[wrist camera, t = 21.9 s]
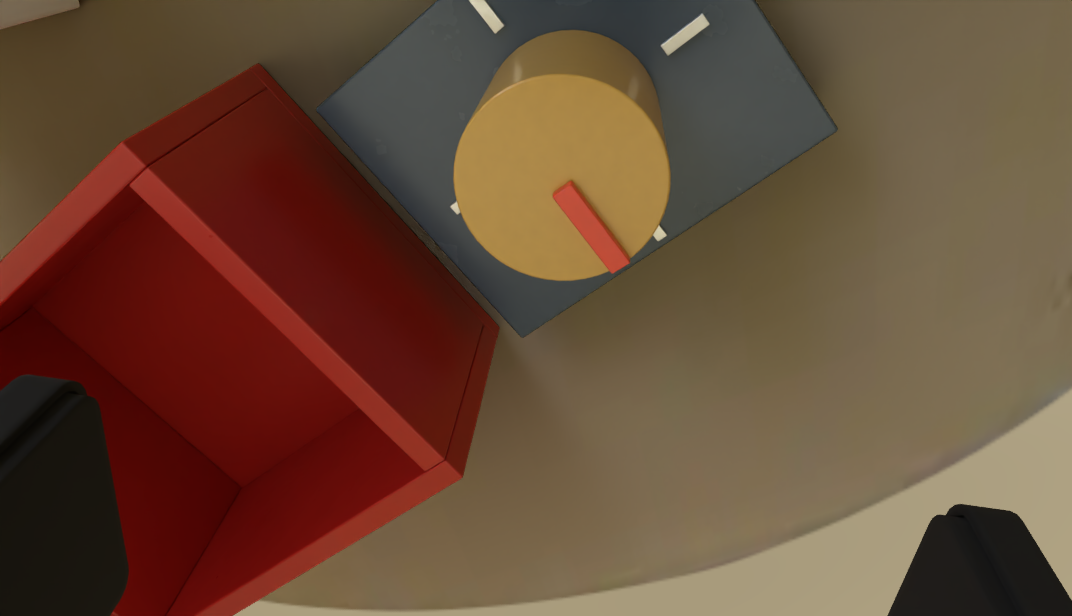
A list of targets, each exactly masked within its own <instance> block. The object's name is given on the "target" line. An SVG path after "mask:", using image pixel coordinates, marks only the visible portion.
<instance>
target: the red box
mask: <svg viewBox="0 0 1072 616" xmlns="http://www.w3.org/2000/svg"><path fill="white" fill-rule="evenodd" d="M499 329H500V328H499V326H498V325H497V324H496V323H495V322H494V321H493V320H492V319H491V318H490V316H489V315H488V314H487V313H486V312H485V311H484V310H483V309H482V308H481V307H480V305H479V304H478V303H477V302H476V301H475V300H474V299H473V298H472V297H471V296H470V294H469V293H468V292H467V291H466V290H465V289H464V288H463V287H462V286H461V285H460V283H459V282H458V281H457V280H456V279H455V278H454V277H453V276H452V275H451V274H450V273H449V271H448V270H447V269H446V268H445V267H444V266H443V265H442V264H441V263H440V262H439V260H438V259H437V258H436V257H435V256H434V255H433V254H432V253H431V252H430V251H429V249H428V248H427V247H426V246H425V245H424V244H423V243H422V242H421V241H420V240H419V238H418V237H417V236H416V235H415V234H414V233H413V232H412V231H411V230H410V229H409V227H408V226H407V225H406V224H405V223H404V222H403V221H402V220H401V219H400V218H399V216H398V215H397V214H396V213H395V212H394V211H393V210H392V209H391V208H390V207H389V206H388V204H387V203H386V202H385V201H384V200H383V199H382V198H381V197H380V196H379V195H378V193H377V192H376V191H375V190H374V189H373V188H372V187H371V186H370V185H369V184H368V182H367V181H366V180H365V179H364V178H363V177H362V176H361V175H360V174H359V173H358V171H357V170H356V169H355V168H354V167H353V166H352V165H351V164H350V163H349V162H348V160H347V159H346V158H345V157H344V156H343V155H342V154H341V153H340V152H339V151H338V149H337V148H336V147H335V146H334V145H333V144H332V143H331V142H330V141H329V140H328V139H327V137H326V136H325V135H324V134H323V133H322V132H321V131H320V130H319V129H318V128H317V126H316V125H315V124H314V123H313V122H312V121H311V120H310V119H309V118H308V117H307V115H306V114H305V113H304V112H303V111H302V110H301V109H300V108H299V107H298V106H297V104H296V103H295V102H294V101H293V100H292V99H291V98H290V97H289V96H288V95H287V93H286V92H285V91H284V90H283V89H282V88H281V87H280V86H279V85H278V84H277V82H276V81H275V80H274V79H273V78H272V77H271V76H270V75H269V74H268V73H267V72H266V70H265V69H264V68H263V67H262V66H261V65H260V64H259V63H258V64H256V65H254V66H252V67H250V68H249V69H247V70H245V71H244V72H242V73H240V74H239V75H237V76H235V77H233V78H232V79H230V80H228V81H226V82H225V83H223V84H221V85H219V86H218V87H216V88H214V89H212V90H211V91H209V92H207V93H205V94H204V95H202V96H200V97H198V98H197V99H195V100H193V101H191V102H190V103H188V104H186V105H185V106H183V107H181V108H179V109H178V110H176V111H174V112H172V113H171V114H169V115H167V116H165V117H164V118H162V119H160V120H158V121H157V122H155V123H153V124H151V125H150V126H148V127H146V128H144V129H143V130H141V131H139V132H138V133H136V134H134V135H132V136H131V137H129V138H127V139H125V140H124V141H122V142H120V143H119V144H118V145H117V146H116V147H115V148H114V149H113V150H112V151H111V152H110V153H109V154H108V155H107V156H106V157H105V158H104V159H103V160H102V161H101V162H100V163H99V164H98V165H97V166H96V167H95V168H94V169H93V170H92V171H91V172H90V173H89V174H88V175H87V176H86V177H85V178H84V179H83V180H82V181H81V182H80V183H79V184H78V185H77V186H76V187H75V188H74V189H73V190H72V191H71V192H70V193H69V194H68V195H67V196H66V197H65V198H64V199H63V200H62V201H61V202H60V203H59V204H58V205H57V206H56V207H55V208H54V209H53V210H52V211H51V212H50V213H49V214H48V215H47V216H46V217H45V218H44V219H43V220H42V221H41V222H40V223H38V224H37V225H36V226H35V227H34V228H33V229H32V230H31V231H30V232H29V233H28V234H27V235H26V236H25V237H24V238H23V239H22V240H21V241H20V242H19V243H18V244H17V245H16V246H15V247H14V248H13V249H12V250H11V251H10V252H9V253H8V254H7V255H6V256H5V257H4V258H3V259H2V260H1V261H0V391H1V390H2V389H3V388H4V387H5V386H7V385H8V384H9V383H10V382H11V381H12V380H14V379H16V378H17V377H19V376H21V375H27V374H29V375H36V376H44V377H51V378H58V379H65V380H72V381H76V382H79V383H81V384H82V385H83V387H84V388H85V390H86V393H87V396H91V397H94V398H95V399H96V400H97V401H98V403H99V407H100V411H101V416H102V422H103V427H104V433H105V438H106V444H107V449H108V455H109V460H110V466H111V472H112V477H113V483H114V488H115V494H116V499H117V505H118V510H119V516H120V521H121V527H122V532H123V538H124V543H125V549H126V554H127V560H128V565H129V575H128V581H127V585H126V589H125V591H124V594H123V596H122V598H121V599H120V601H119V603H118V604H117V606H116V607H115V609H114V610H113V612H112V613H111V615H110V616H233V615H235V614H236V613H238V612H240V611H241V610H243V609H245V608H246V607H248V606H250V605H251V604H253V603H255V602H256V601H258V600H260V599H261V598H263V597H265V596H266V595H268V594H270V593H271V592H273V591H275V590H276V589H278V588H280V587H281V586H283V585H285V584H286V583H288V582H290V581H291V580H293V579H295V578H296V577H298V576H300V575H301V574H303V573H305V572H306V571H308V570H310V569H311V568H313V567H315V566H316V565H318V564H320V563H321V562H323V561H325V560H326V559H328V558H330V557H331V556H333V555H335V554H336V553H338V552H340V551H341V550H343V549H345V548H346V547H348V546H350V545H351V544H353V543H355V542H356V541H358V540H360V539H361V538H363V537H365V536H366V535H368V534H370V533H371V532H373V531H375V530H376V529H378V528H380V527H381V526H383V525H385V524H386V523H388V522H390V521H391V520H393V519H395V518H396V517H398V516H400V515H401V514H403V513H405V512H406V511H408V510H410V509H411V508H413V507H415V506H416V505H418V504H420V503H421V502H423V501H425V500H426V499H428V498H430V497H431V496H433V495H435V494H436V493H438V492H440V491H441V490H443V489H445V488H446V487H448V486H450V485H451V484H453V483H455V482H456V481H458V480H460V479H461V478H462V477H463V475H464V471H465V466H466V462H467V458H468V454H469V450H470V446H471V442H472V438H473V434H474V430H475V426H476V422H477V418H478V414H479V410H480V405H481V401H482V397H483V393H484V389H485V385H486V381H487V377H488V373H489V369H490V365H491V361H492V357H493V353H494V349H495V344H496V340H497V337H498V333H499Z"/></svg>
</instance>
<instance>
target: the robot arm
mask: <svg viewBox="0 0 1072 616" xmlns="http://www.w3.org/2000/svg"><path fill="white" fill-rule="evenodd" d="M128 575H129V565H128V560H127V554H126V549H125V543H124V538H123V532H122V527H121V521H120V516H119V510H118V505H117V499H116V494H115V488H114V483H113V477H112V472H111V466H110V460H109V455H108V449H107V444H106V438H105V433H104V427H103V422H102V416H101V411H100V407H99V403H98V401H97V400H96V399H95V398H94V397H91V396H87V393H86V390H85V388H84V387H83V385H82V384H81V383H79V382H76V381H72V380H65V379H58V378H51V377H44V376H36V375H29V374H27V375H21V376H19V377H17V378H16V379H14V380H12V381H11V382H10V383H9V384H8V385H7V386H5V387H4V388H3V389H2V390H1V391H0V616H110V615H111V613H112V612H113V610H114V609H115V607H116V606H117V604H118V603H119V601H120V599H121V598H122V596H123V594H124V591H125V589H126V585H127V581H128ZM888 616H1072V600H1071V599H1070V598H1069V595H1068V594H1067V592H1066V591H1065V589H1064V587H1063V586H1062V584H1061V582H1060V581H1059V579H1058V578H1057V576H1056V574H1055V573H1054V571H1053V569H1052V568H1051V566H1050V565H1049V563H1048V561H1047V560H1046V558H1045V557H1044V555H1043V553H1042V552H1041V550H1040V548H1039V547H1038V545H1037V543H1036V542H1035V540H1034V539H1033V537H1032V536H1031V534H1030V532H1029V530H1028V529H1027V527H1026V526H1025V524H1024V522H1023V521H1022V520H1021V519H1020V517H1019V516H1018V515H1017V514H1015V513H1013V512H1011V511H1006V510H1000V509H992V508H985V507H978V506H971V505H964V504H958V505H954V506H953V507H952V508H950V509H949V511H948V512H947V514H946V515H936V516H935V517H934V518H932V520H931V522H930V523H929V525H928V527H927V530H926V532H925V534H924V536H923V538H922V541H921V543H920V545H919V547H918V549H917V552H916V554H915V556H914V558H913V561H912V563H911V565H910V567H909V569H908V572H907V574H906V576H905V578H904V581H903V583H902V585H901V587H900V589H899V592H898V594H897V596H896V598H895V601H894V603H893V605H892V607H891V609H890V612H889V614H888Z"/></svg>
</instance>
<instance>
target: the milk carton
mask: <svg viewBox="0 0 1072 616" xmlns="http://www.w3.org/2000/svg"><path fill="white" fill-rule="evenodd" d="M79 6H80V5H79V1H78V0H0V29H4V28H8V27H11V26H15V25H19V24H22V23H26V22H29V21H33V20H37V19H40V18H44V17H48V16H51V15H55V14H58V13H62V12H66V11H69V10H73V9H76V8H79Z"/></svg>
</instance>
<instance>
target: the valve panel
mask: <svg viewBox="0 0 1072 616" xmlns="http://www.w3.org/2000/svg"><path fill="white" fill-rule="evenodd" d="M561 30H581V31H588V32H593V33H597V34H600V35H603V36H605V37H608V38H610V39H612V40H614V41H616V42H617V43H619V44H621V45H622V46H623V47H625V48H626V49H627V50H629V51H630V52H631V53H632V54H633V55H634V56H635V57H636V58H637V59H638V60H639V61H640V63H641V64H642V65H643V66H644V68H645V69H646V71H647V73H648V74H649V76H650V78H651V80H652V82H653V85H654V87H655V90H656V93H657V97H658V101H659V107H660V112H661V118H662V123H663V129H664V134H665V140H666V146H667V151H668V157H669V164H670V172H671V184H670V193H669V199H668V203H667V207H666V210H665V213H664V216H663V218H662V220H661V222H660V224H659V226H658V228H657V229H656V231H655V233H654V234H653V236H652V237H651V238H650V240H649V241H648V242H647V243H646V244H645V246H644V247H643V248H642V249H641V250H640V251H639V252H638V253H636V254H635V255H634V256H633V257H632V258H630V263H629V264H628V265H626V266H624V267H623V268H621V269H620V270H618V271H616V272H615V273H613V274H612V273H611V272H610V271H608V272H606V273H603V274H601V275H598V276H594V277H590V278H586V279H580V280H573V281H556V280H546V279H541V278H537V277H532V276H529V275H526V274H524V273H521V272H518V271H516V270H514V269H512V268H510V267H508V266H507V265H505V264H503V263H502V262H500V261H499V260H497V259H496V258H495V257H494V256H492V255H491V254H490V253H489V252H488V251H486V250H485V248H484V247H483V246H482V245H481V244H480V243H479V242H478V241H477V240H476V238H475V237H474V236H473V234H472V233H471V232H470V230H469V228H468V227H467V225H466V223H465V221H464V219H463V217H462V215H461V212H460V210H459V207H458V204H457V200H456V196H455V191H454V182H453V171H454V161H455V155H456V151H457V147H458V144H459V141H460V138H461V136H462V134H463V132H464V130H465V128H466V126H467V124H468V122H469V120H470V119H471V117H472V115H473V113H474V111H475V110H476V108H477V106H478V104H479V102H480V101H481V99H482V97H483V95H484V93H485V92H486V90H487V88H488V86H489V84H490V83H491V81H492V79H493V77H494V75H495V74H496V72H497V71H498V69H499V68H500V66H501V65H502V63H503V62H504V61H505V60H506V59H507V58H508V56H509V55H511V54H512V53H513V52H514V51H515V50H516V49H517V48H519V47H520V46H522V45H523V44H525V43H526V42H528V41H530V40H532V39H534V38H536V37H538V36H541V35H544V34H547V33H550V32H556V31H561ZM316 110H317V112H318V113H319V114H320V115H321V116H322V117H323V118H324V120H325V121H326V122H327V123H328V124H329V125H330V126H331V127H332V128H333V130H334V131H335V132H336V133H337V134H338V135H339V136H340V137H341V138H342V140H343V141H344V142H345V143H346V144H347V145H348V146H349V147H350V148H351V149H352V151H353V152H354V153H355V154H356V155H357V156H358V157H359V158H360V159H361V161H362V162H363V163H364V164H365V165H366V166H367V167H368V168H369V169H370V170H371V172H372V173H373V174H374V175H375V176H376V177H377V178H378V179H379V180H380V182H381V183H382V184H383V185H384V186H385V187H386V188H387V189H388V190H389V192H390V193H391V194H392V195H393V196H394V197H395V198H396V199H397V200H398V201H399V203H400V204H401V205H402V206H403V207H404V208H405V209H406V210H407V211H408V213H409V214H410V215H411V216H412V217H413V218H414V219H415V220H416V221H417V223H418V224H419V225H420V226H421V227H422V228H423V229H424V230H425V231H426V232H427V234H428V235H429V236H430V237H431V238H432V239H433V240H434V241H435V242H436V244H437V245H438V246H439V247H440V248H441V249H442V250H443V251H444V252H445V254H446V255H447V256H448V257H449V258H450V259H451V260H452V261H453V262H454V263H455V265H456V266H457V267H458V268H459V269H460V270H461V271H462V272H463V273H464V275H465V276H466V277H467V278H468V279H469V280H470V281H471V282H472V283H473V285H474V286H475V287H476V288H477V289H478V290H479V291H480V292H481V293H482V294H483V296H484V297H485V298H486V299H487V300H488V301H489V302H490V303H491V304H492V306H493V307H494V308H495V309H496V310H497V311H498V312H499V313H500V314H501V316H502V317H503V318H504V319H505V320H506V321H507V322H508V323H509V324H510V325H511V327H512V328H513V329H514V330H515V331H516V332H517V333H518V334H519V335H520V337H522V338H523V337H525V336H526V335H528V334H530V333H531V332H533V331H534V330H536V329H537V328H539V327H540V326H542V325H543V324H545V323H546V322H548V321H549V320H551V319H552V318H554V317H555V316H557V315H558V314H560V313H561V312H563V311H564V310H566V309H568V308H569V307H571V306H572V305H574V304H575V303H577V302H578V301H580V300H581V299H583V298H584V297H586V296H587V295H589V294H590V293H592V292H593V291H595V290H596V289H598V288H599V287H601V286H602V285H604V284H606V283H607V282H609V281H610V280H612V279H613V278H615V277H616V276H618V275H619V274H621V273H622V272H624V271H625V270H627V269H628V268H630V267H631V266H633V265H634V264H636V263H637V262H639V261H641V260H642V259H644V258H645V257H647V256H648V255H650V254H651V253H653V252H654V251H656V250H657V249H659V248H660V247H662V246H663V245H665V244H666V243H668V242H669V241H671V240H672V239H674V238H675V237H677V236H679V235H680V234H682V233H683V232H685V231H686V230H688V229H689V228H691V227H692V226H694V225H695V224H697V223H698V222H700V221H701V220H703V219H704V218H706V217H707V216H709V215H710V214H712V213H713V212H715V211H717V210H718V209H720V208H721V207H723V206H724V205H726V204H727V203H729V202H730V201H732V200H733V199H735V198H736V197H738V196H739V195H741V194H742V193H744V192H745V191H747V190H748V189H750V188H751V187H753V186H755V185H756V184H758V183H759V182H761V181H762V180H764V179H765V178H767V177H768V176H770V175H771V174H773V173H774V172H776V171H777V170H779V169H780V168H782V167H783V166H785V165H786V164H788V163H789V162H791V161H793V160H794V159H796V158H797V157H799V156H800V155H802V154H803V153H805V152H806V151H808V150H809V149H811V148H812V147H814V146H815V145H817V144H818V143H820V142H821V141H823V140H824V139H826V138H828V137H829V136H831V135H832V134H834V133H835V132H837V130H838V128H837V126H836V125H835V123H834V122H833V120H832V118H831V117H830V115H829V114H828V112H827V111H826V109H825V108H824V106H823V105H822V103H821V102H820V100H819V98H818V97H817V95H816V94H815V92H814V91H813V89H812V88H811V86H810V85H809V83H808V81H807V80H806V78H805V77H804V75H803V74H802V72H801V71H800V69H799V68H798V66H797V64H796V63H795V61H794V60H793V58H792V57H791V55H790V54H789V52H788V51H787V49H786V48H785V46H784V44H783V43H782V41H781V40H780V38H779V37H778V35H777V34H776V32H775V31H774V29H773V27H772V26H771V24H770V23H769V21H768V20H767V18H766V17H765V15H764V14H763V12H762V10H761V9H760V7H759V6H758V4H757V3H756V1H755V0H437V1H436V2H435V3H434V4H433V5H431V6H430V7H429V8H428V9H427V10H426V11H425V12H424V13H422V14H421V15H420V16H419V17H418V18H417V19H416V20H415V21H413V22H412V23H411V24H410V25H409V26H408V27H407V28H406V29H404V30H403V31H402V32H401V33H400V34H399V35H398V36H397V37H395V38H394V39H393V40H392V41H391V42H390V43H389V44H388V45H386V46H385V47H384V48H383V49H382V50H381V51H380V52H379V53H377V54H376V55H375V56H374V57H373V58H372V59H371V60H370V61H368V62H367V63H366V64H365V65H364V66H363V67H362V68H361V69H359V70H358V71H357V72H356V73H355V74H354V75H353V76H352V77H350V78H349V79H348V80H347V81H346V82H345V83H344V84H343V85H341V86H340V87H339V88H338V89H337V90H336V91H335V92H334V93H332V94H331V95H330V96H329V97H328V98H327V99H326V100H325V101H323V102H322V103H321V104H320V105H319V106H318V107H317V108H316Z"/></svg>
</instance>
